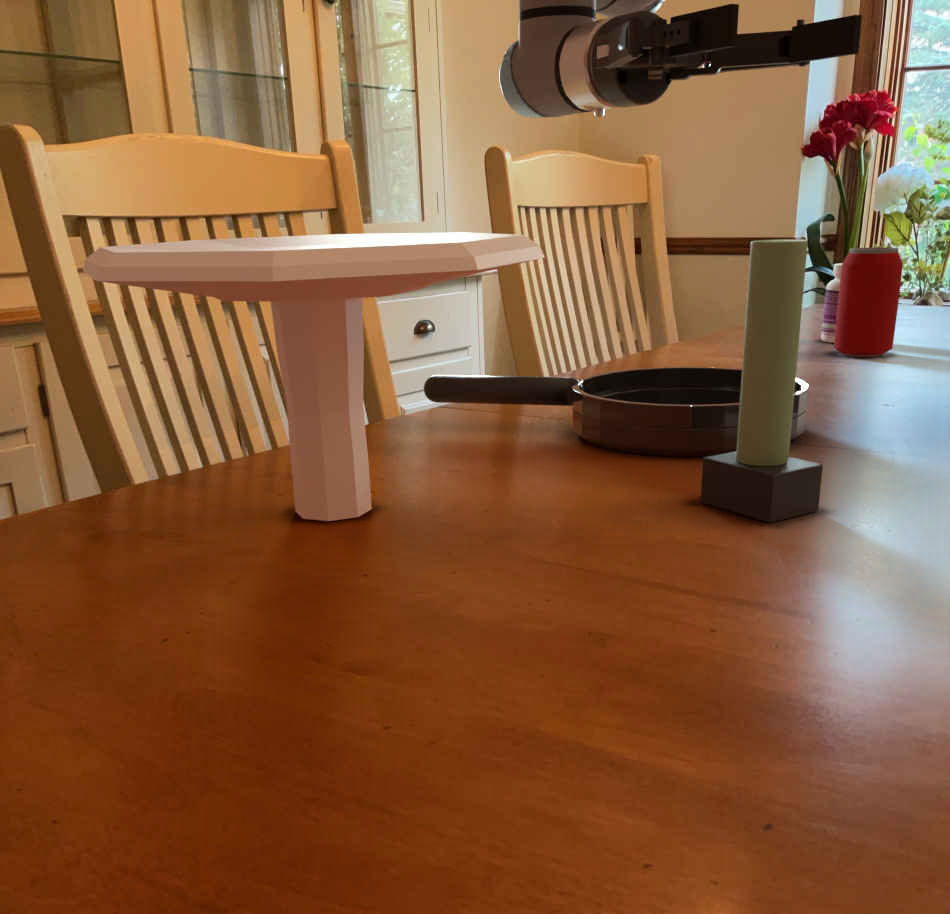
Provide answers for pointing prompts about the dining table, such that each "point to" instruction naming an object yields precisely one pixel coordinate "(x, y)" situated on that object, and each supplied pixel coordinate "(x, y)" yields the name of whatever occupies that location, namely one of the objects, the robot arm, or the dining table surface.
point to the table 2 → (315, 324)
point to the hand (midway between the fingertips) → (798, 29)
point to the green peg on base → (767, 397)
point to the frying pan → (667, 410)
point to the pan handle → (500, 389)
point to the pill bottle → (831, 306)
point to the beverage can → (868, 302)
